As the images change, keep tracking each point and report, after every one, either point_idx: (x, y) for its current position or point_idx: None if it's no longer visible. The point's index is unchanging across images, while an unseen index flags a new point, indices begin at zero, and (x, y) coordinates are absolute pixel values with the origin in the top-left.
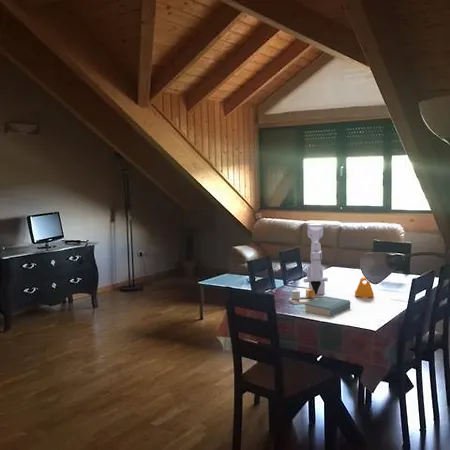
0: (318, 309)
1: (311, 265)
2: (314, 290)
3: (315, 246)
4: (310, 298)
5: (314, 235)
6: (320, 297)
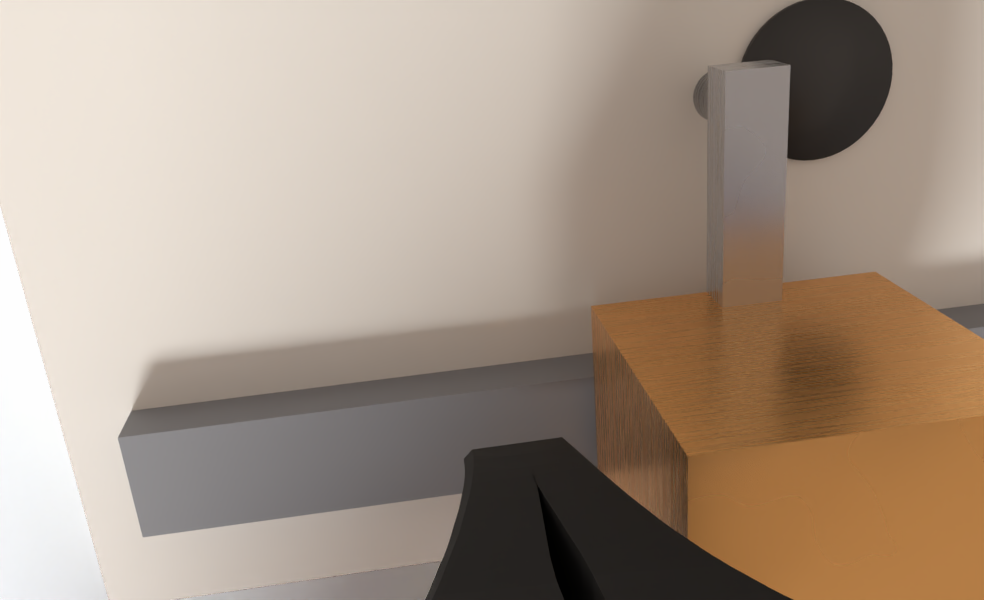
0: None
1: None
2: (697, 482)
3: None
4: None
5: None
6: (288, 401)
